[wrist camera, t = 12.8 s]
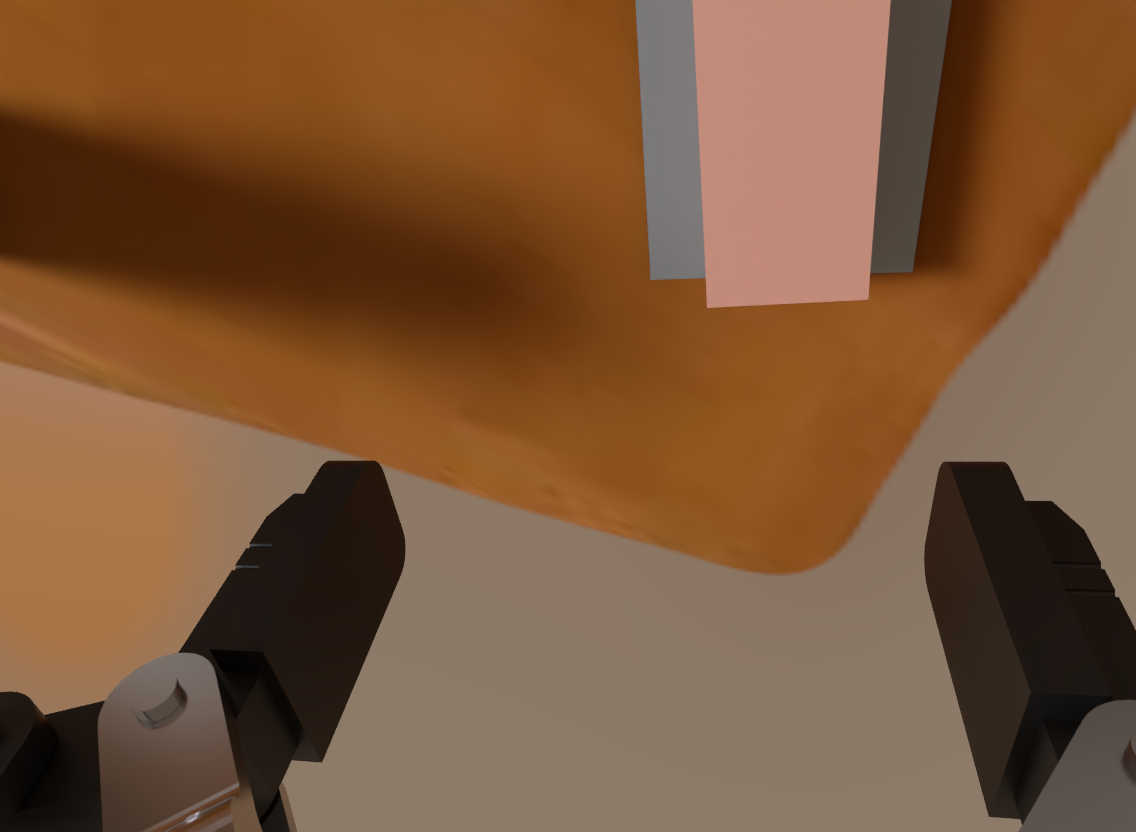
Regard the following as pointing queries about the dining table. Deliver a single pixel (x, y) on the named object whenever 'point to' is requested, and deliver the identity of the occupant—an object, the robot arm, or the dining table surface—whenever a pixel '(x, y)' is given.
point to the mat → (676, 133)
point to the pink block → (789, 146)
